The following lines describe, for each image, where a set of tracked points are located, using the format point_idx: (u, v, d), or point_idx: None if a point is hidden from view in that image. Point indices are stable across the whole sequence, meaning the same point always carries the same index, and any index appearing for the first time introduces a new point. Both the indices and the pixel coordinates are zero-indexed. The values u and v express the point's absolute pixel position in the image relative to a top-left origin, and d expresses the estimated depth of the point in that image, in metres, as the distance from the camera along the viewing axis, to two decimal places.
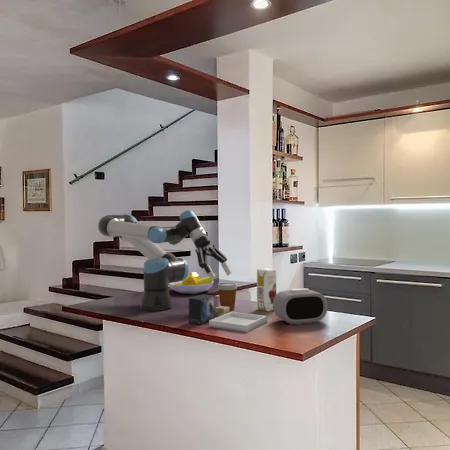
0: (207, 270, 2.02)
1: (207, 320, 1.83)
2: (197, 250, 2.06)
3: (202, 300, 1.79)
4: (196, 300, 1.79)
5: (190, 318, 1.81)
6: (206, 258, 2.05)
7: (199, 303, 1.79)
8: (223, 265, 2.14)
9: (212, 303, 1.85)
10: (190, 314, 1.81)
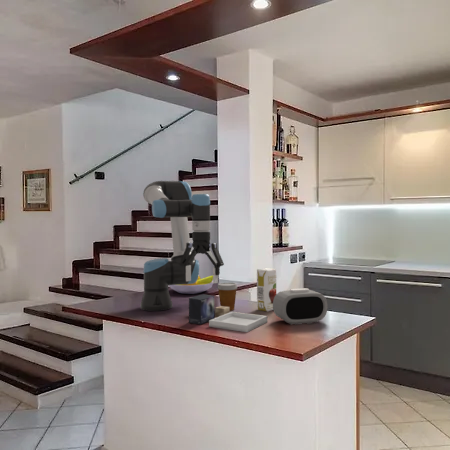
0: (185, 270, 1.88)
1: (207, 320, 1.83)
2: None
3: (202, 300, 1.79)
4: (196, 300, 1.79)
5: (190, 318, 1.81)
6: (189, 258, 1.86)
7: (199, 303, 1.79)
8: None
9: (212, 303, 1.85)
10: (190, 314, 1.81)
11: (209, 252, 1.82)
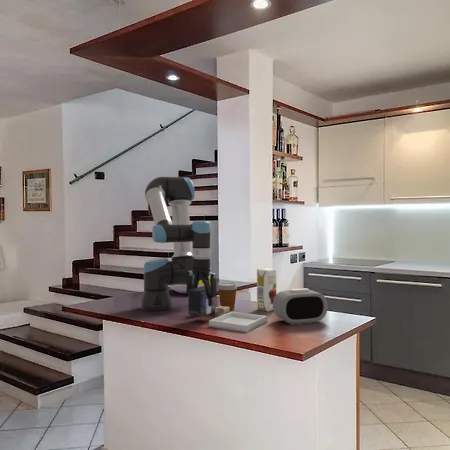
0: None
1: None
2: None
3: (202, 292, 1.80)
4: (196, 293, 1.80)
5: (190, 310, 1.82)
6: (193, 287, 1.85)
7: (199, 295, 1.79)
8: None
9: None
10: (190, 306, 1.82)
11: (207, 281, 1.83)
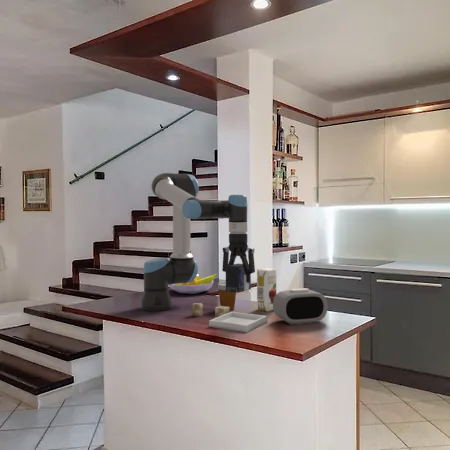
0: None
1: None
2: None
3: (240, 267, 1.73)
4: (234, 268, 1.73)
5: (227, 287, 1.75)
6: (229, 263, 1.79)
7: (237, 270, 1.73)
8: None
9: None
10: (227, 282, 1.75)
11: (244, 257, 1.76)
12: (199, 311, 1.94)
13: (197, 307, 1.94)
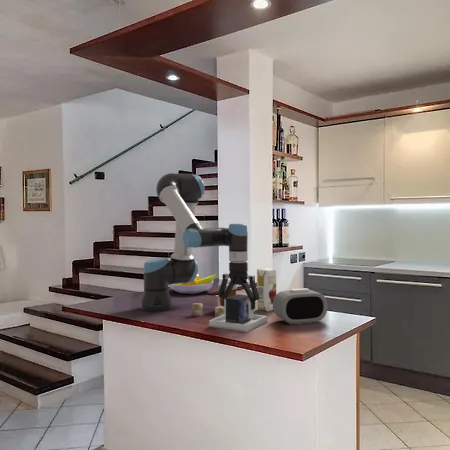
0: (223, 303, 1.82)
1: (244, 321, 1.77)
2: None
3: (240, 300, 1.74)
4: (234, 301, 1.74)
5: (227, 319, 1.75)
6: (227, 290, 1.80)
7: (237, 303, 1.73)
8: None
9: (248, 304, 1.80)
10: (227, 315, 1.75)
11: (246, 284, 1.76)
12: (199, 311, 1.94)
13: (197, 307, 1.94)
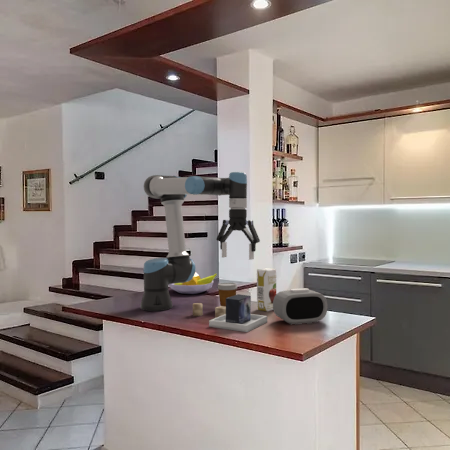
0: None
1: (244, 321, 1.77)
2: None
3: (240, 300, 1.74)
4: (234, 301, 1.74)
5: (227, 319, 1.75)
6: (225, 234, 1.90)
7: (237, 303, 1.73)
8: None
9: (248, 304, 1.80)
10: (227, 315, 1.75)
11: (245, 229, 1.86)
12: (199, 311, 1.94)
13: (197, 307, 1.94)
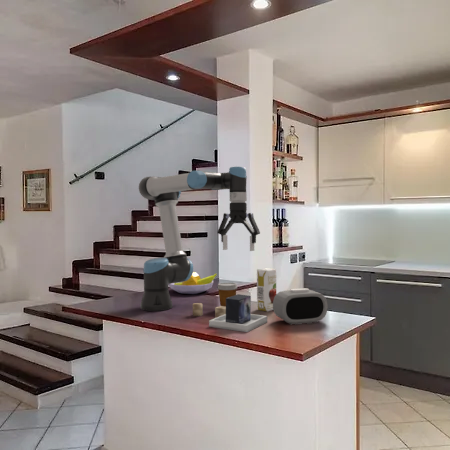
0: None
1: (244, 321, 1.77)
2: None
3: (240, 300, 1.74)
4: (234, 301, 1.74)
5: (227, 319, 1.75)
6: (226, 227, 1.96)
7: (237, 303, 1.73)
8: None
9: (248, 304, 1.80)
10: (227, 315, 1.75)
11: (246, 222, 1.92)
12: (199, 311, 1.94)
13: (197, 307, 1.94)
